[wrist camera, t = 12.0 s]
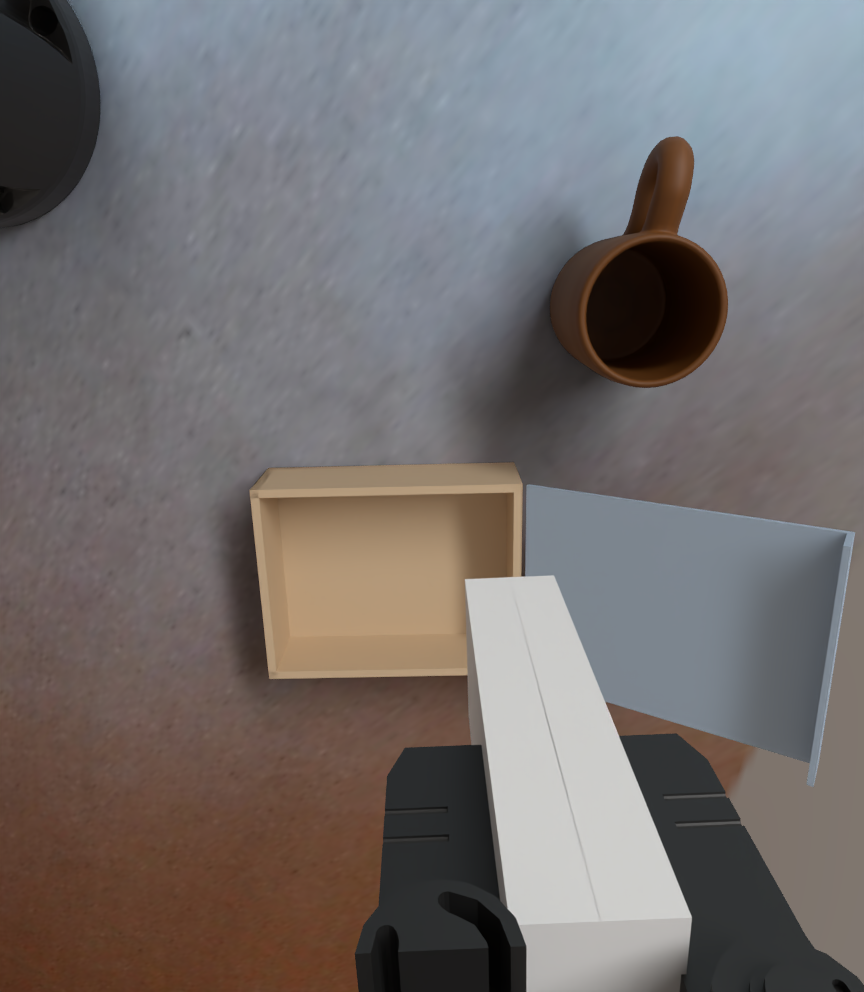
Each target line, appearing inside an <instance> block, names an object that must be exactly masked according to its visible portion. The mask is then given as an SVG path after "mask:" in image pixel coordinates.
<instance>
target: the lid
mask: <svg viewBox="0 0 864 992" xmlns="http://www.w3.org/2000/svg"><path fill="white" fill-rule="evenodd" d="M854 536H855V532H850V531H843V530H837V529H830V528H823V527H816V526H809V525H803V524H796V523H789V522H782V521H775V520H769V519H762V518H755V517H748V516H741V515H735V514H728V513H721V512H714V511H707V510H701V509H694V508H687V507H680V506H673V505H667V504H660V503H653V502H646V501H639V500H633V499H626V498H619V497H612V496H605V495H599V494H592V493H585V492H578V491H571V490H565V489H558V488H551V487H544V486H537V485H531V484H528V485H527V493H526V563H525V577H528V576H551V575H554V577H555V579H556V582H557V584H558V587H559V589H560V592H561V594H562V596H563V599H564V601H565V604H566V606H567V609H568V611H569V614H570V616H571V619H572V621H573V624H574V626H575V629H576V631H577V634H578V636H579V639H580V641H581V644H582V646H583V649H584V651H585V654H586V656H587V658H588V661H589V663H590V666H591V668H592V671H593V673H594V676H595V678H596V681H597V683H598V686H599V688H600V691H601V693H602V696H603V698H604V701H605V702H609V703H612V704H615V705H619V706H622V707H625V708H629V709H632V710H635V711H638V712H642V713H645V714H648V715H652V716H655V717H658V718H662V719H665V720H668V721H672V722H675V723H678V724H682V725H685V726H688V727H691V728H695V729H698V730H701V731H705V732H708V733H711V734H715V735H718V736H721V737H725V738H728V739H731V740H735V741H738V742H741V743H744V744H748V745H751V746H754V747H758V748H761V749H765V750H768V751H771V752H774V753H778V754H781V755H784V756H787V757H791V758H794V759H797V760H801V761H804V762H808V763H810V766H809V773H808V779H807V785H809V786H812V787H813V786H814V782H815V777H816V772H817V767H818V763H819V757H820V751H821V744H822V738H823V732H824V726H825V719H826V713H827V707H828V700H829V693H830V688H831V681H832V675H833V669H834V661H835V656H836V650H837V643H838V637H839V630H840V624H841V618H842V612H843V605H844V599H845V593H846V586H847V580H848V574H849V567H850V561H851V555H852V549H853V542H854Z"/></svg>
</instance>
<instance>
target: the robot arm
mask: <svg viewBox="0 0 864 992" xmlns="http://www.w3.org/2000/svg"><path fill="white" fill-rule="evenodd" d="M99 121H100V89H99V81H98V75H97V70H96V65H95V61H94V57H93V54H92V51H91V48H90V45H89V42H88V40H87V37H86V35H85V32H84V30H83V28H82V26H81V24H80V22H79V20H78V18H77V16H76V15H75V13H74V11H73V9H72V8H71V6H70V5H69V3H68V2H67V0H0V228H5V227H11V226H15V225H19V224H23V223H26V222H28V221H31V220H33V219H35V218H38V217H40V216H41V215H43V214H45V213H47V212H48V211H50V210H51V209H53V208H54V207H55V206H56V205H58V204H59V203H60V202H61V201H62V200H63V199H64V198H65V197H66V196H67V195H68V194H69V193H70V192H71V191H72V190H73V188H74V187H75V186H76V184H77V183H78V181H79V180H80V178H81V177H82V175H83V173H84V172H85V170H86V168H87V166H88V163H89V161H90V159H91V156H92V153H93V150H94V147H95V144H96V139H97V135H98V129H99ZM465 603H466V638H467V672H468V707H469V724H470V734H471V744H472V745H461V746H438V747H415V748H405V749H404V750H403V752H402V753H401V755H400V757H399V758H398V760H397V761H396V763H395V765H394V766H393V768H392V769H391V771H390V773H389V774H388V776H387V787H386V802H385V818H384V833H383V848H382V864H381V879H380V894H379V906H378V908H377V909H376V910H375V911H374V913H373V914H372V915H371V916H370V918H369V919H368V920H367V921H366V923H365V924H364V926H363V929H362V932H361V936H360V939H359V942H358V945H357V949H356V952H355V960H356V969H357V979H358V989H359V992H864V985H863V984H862V982H861V981H860V980H859V979H858V978H857V976H855V975H854V974H853V973H851V972H850V971H849V970H847V969H846V968H845V967H843V966H842V965H840V964H839V963H838V962H837V961H835V960H834V959H832V958H831V957H830V956H829V955H827V954H825V953H823V952H821V951H818V950H816V949H814V947H813V946H812V944H811V943H810V941H809V940H808V938H807V937H806V936H805V934H804V932H803V931H802V928H801V927H800V925H799V923H798V921H797V920H796V918H795V916H794V914H793V912H792V911H791V909H790V907H789V905H788V903H787V901H786V900H785V898H784V896H783V894H782V892H781V891H780V889H779V887H778V885H777V884H776V882H775V880H774V878H773V876H772V875H771V873H770V871H769V869H768V867H767V866H766V864H765V862H764V861H763V859H762V857H761V855H760V853H759V851H758V850H757V848H756V846H755V844H754V842H753V841H752V839H751V837H750V835H749V833H748V832H747V830H746V828H745V826H742V825H741V822H740V817H739V816H738V814H737V812H736V810H735V808H734V806H733V805H732V803H731V801H730V799H729V798H726V795H725V790H724V788H723V787H722V785H721V783H720V781H719V780H718V778H717V776H716V774H715V772H714V771H713V769H712V767H711V765H710V763H709V762H708V760H707V759H706V758H705V757H704V756H702V755H701V754H700V753H699V752H698V751H697V750H695V749H694V748H693V747H692V746H691V745H689V744H688V743H687V742H686V741H685V740H684V739H682V738H681V737H680V736H679V735H678V734H655V735H632V736H619V735H618V733H617V730H616V728H615V725H614V723H613V720H612V718H611V715H610V713H609V711H608V708H607V706H606V703H605V701H604V698H603V696H602V693H601V691H600V688H599V686H598V683H597V681H596V678H595V676H594V673H593V671H592V668H591V666H590V663H589V661H588V658H587V656H586V654H585V651H584V649H583V646H582V644H581V641H580V639H579V636H578V634H577V631H576V629H575V626H574V624H573V621H572V619H571V616H570V614H569V611H568V609H567V606H566V604H565V601H564V599H563V596H562V594H561V592H560V589H559V587H558V584H557V582H556V579H555V577H554V575H551V576H528V577H504V578H481V579H465Z"/></svg>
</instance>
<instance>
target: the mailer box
mask: <svg viewBox="0 0 864 992" xmlns="http://www.w3.org/2000/svg"><path fill="white" fill-rule="evenodd" d="M522 491H523V484H522V481H521V479H520V476H519V474H518V471H517V469H516V466H515V464H514V462H507V463H463V464H419V465H375V466H331V467H287V468H268V469H267V470H266V471H265V473H264V474H263V475H262V476H261V477H260V478H259V480H258V481H257V482H256V483H255V484H254V486H253V487H252V488H251V489H250V499H251V508H252V518H253V528H254V537H255V547H256V556H257V566H258V575H259V585H260V595H261V604H262V614H263V623H264V633H265V642H266V652H267V662H268V671H269V679H292V678H345V677H398V676H452V675H468V672H467V638H466V603H465V579H481V578H504V577H521V570H522Z"/></svg>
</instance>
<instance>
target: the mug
mask: <svg viewBox="0 0 864 992" xmlns="http://www.w3.org/2000/svg"><path fill="white" fill-rule="evenodd" d="M693 169H694V156H693V151H692V148H691V146H690V145H689V144H688V143H687V141H686V140H685V139H683V138H681V137H678V136H676V137H668V138H665V139H664V140H662V141H660V142H659V143H658V144H657V145H656V146H655V148H654V149H653V150H652V151H651V153H650V155H649V156H648V159H647V161H646V163H645V165H644V168H643V170H642V173H641V176H640V179H639V183H638V187H637V191H636V195H635V200H634V205H633V209H632V213H631V216H630V220H629V223H628V226H627V228H626V230H625V232H624V234H623V235H622V236H617V237H614V238H609V239H605V240H601V241H598V242H595V243H593V244H591V245H589V246H587V247H585V248H583V249H582V250H580V251H579V252H577V253H576V254H575V255H574V256H573V257H572V258H571V259H570V260H569V261H568V262H567V263H566V264H565V265H564V267H563V268H562V270H561V271H560V273H559V275H558V277H557V279H556V281H555V284H554V286H553V289H552V294H551V299H550V316H551V322H552V326H553V329H554V332H555V334H556V336H557V338H558V340H559V341H560V343H561V344H562V346H563V347H564V348H565V349H566V350H567V352H569V353H570V354H571V355H572V356H573V357H574V358H576V359H577V360H579V361H580V362H581V363H583V364H584V365H586V366H587V367H589V368H590V369H592V370H593V371H595V372H596V373H598V374H599V375H601V376H603V377H605V378H607V379H609V380H611V381H614V382H617V383H621V384H624V385H628V386H633V387H642V388H650V387H659V386H663V385H667V384H670V383H673V382H676V381H678V380H680V379H682V378H684V377H686V376H687V375H689V374H690V373H692V372H693V371H694V370H696V369H697V368H698V367H699V366H700V365H701V364H702V363H703V362H704V361H705V360H706V359H707V358H708V357H709V355H710V354H711V353H712V352H713V350H714V349H715V347H716V345H717V343H718V342H719V340H720V337H721V335H722V333H723V330H724V326H725V323H726V318H727V312H728V296H727V289H726V285H725V281H724V278H723V275H722V273H721V271H720V269H719V267H718V265H717V264H716V262H715V261H714V260H713V258H712V257H711V256H710V255H709V254H708V253H707V252H706V251H705V250H704V249H703V248H701V247H700V246H699V245H697V244H696V243H694V242H692V241H690V240H688V239H686V238H683V237H681V236H678V235H677V232H678V228H679V225H680V222H681V218H682V215H683V212H684V209H685V206H686V203H687V200H688V197H689V193H690V189H691V184H692V178H693Z"/></svg>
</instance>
